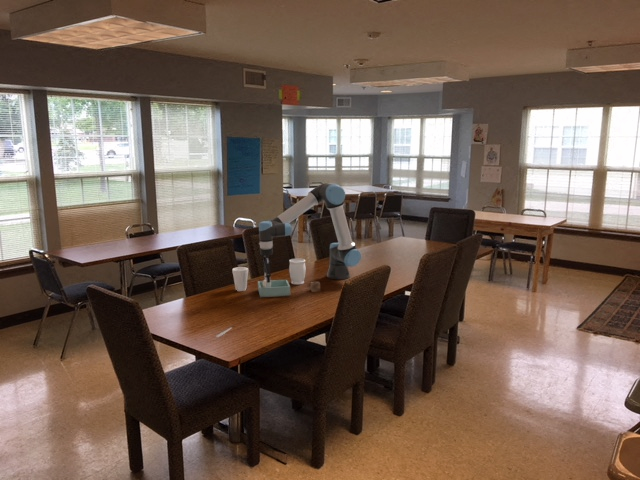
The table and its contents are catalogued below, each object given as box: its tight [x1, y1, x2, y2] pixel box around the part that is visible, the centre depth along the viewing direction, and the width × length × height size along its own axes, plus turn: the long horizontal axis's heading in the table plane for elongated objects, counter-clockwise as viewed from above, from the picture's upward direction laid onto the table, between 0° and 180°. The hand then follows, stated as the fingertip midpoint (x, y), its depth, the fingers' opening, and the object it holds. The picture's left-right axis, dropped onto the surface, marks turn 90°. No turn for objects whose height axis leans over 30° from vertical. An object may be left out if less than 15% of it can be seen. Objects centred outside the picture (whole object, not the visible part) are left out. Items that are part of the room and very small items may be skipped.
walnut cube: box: [310, 281, 321, 293], centre depth 306 cm, size 5×5×5 cm
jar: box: [288, 258, 307, 285], centre depth 322 cm, size 11×10×15 cm
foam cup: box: [232, 266, 249, 292], centre depth 308 cm, size 10×9×13 cm
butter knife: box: [215, 327, 233, 338], centre depth 246 cm, size 1×27×3 cm
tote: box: [257, 279, 291, 298], centre depth 302 cm, size 18×16×6 cm
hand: (267, 285), depth 301 cm, fingers open, 9 cm apart
